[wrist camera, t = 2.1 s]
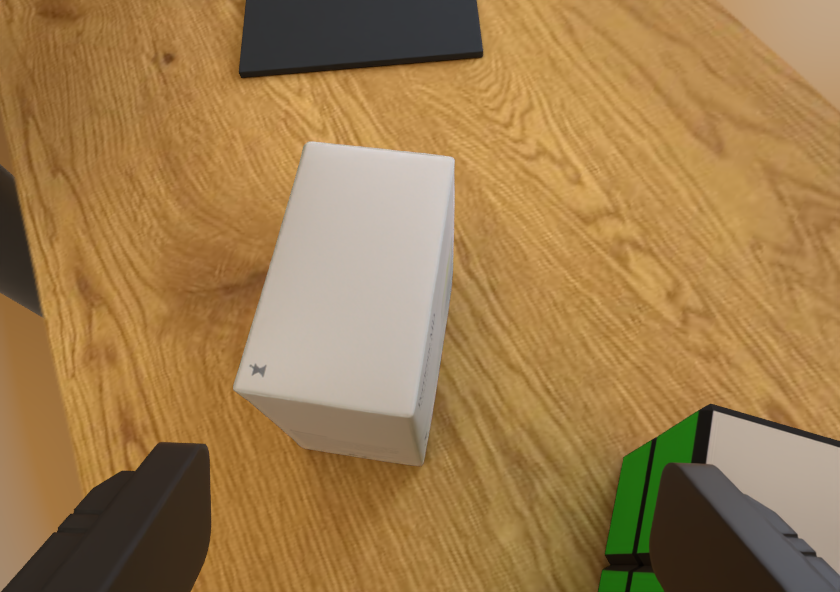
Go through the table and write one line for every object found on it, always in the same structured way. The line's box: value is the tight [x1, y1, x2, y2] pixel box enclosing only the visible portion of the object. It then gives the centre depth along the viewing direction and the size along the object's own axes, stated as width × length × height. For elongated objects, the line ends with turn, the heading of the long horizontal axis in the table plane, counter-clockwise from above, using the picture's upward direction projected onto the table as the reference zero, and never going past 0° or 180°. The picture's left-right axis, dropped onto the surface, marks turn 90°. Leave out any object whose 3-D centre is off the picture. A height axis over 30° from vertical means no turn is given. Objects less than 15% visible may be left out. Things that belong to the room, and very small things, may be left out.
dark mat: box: [239, 0, 483, 78], centre depth 41 cm, size 16×12×1 cm
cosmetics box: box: [233, 142, 455, 466], centre depth 26 cm, size 10×6×10 cm, turn 171°
